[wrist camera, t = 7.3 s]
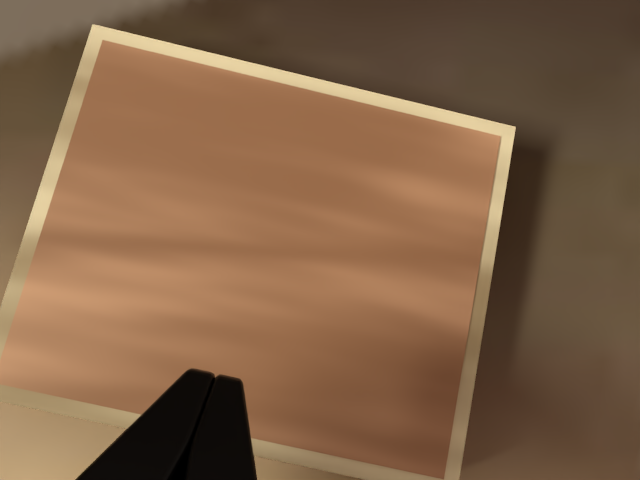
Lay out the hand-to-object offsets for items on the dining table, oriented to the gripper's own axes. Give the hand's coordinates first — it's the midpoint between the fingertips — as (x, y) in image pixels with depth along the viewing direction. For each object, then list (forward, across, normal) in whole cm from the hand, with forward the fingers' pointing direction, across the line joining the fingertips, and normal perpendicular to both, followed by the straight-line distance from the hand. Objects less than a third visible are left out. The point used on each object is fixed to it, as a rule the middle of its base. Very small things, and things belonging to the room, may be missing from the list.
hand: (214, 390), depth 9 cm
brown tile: (+3, 0, +6) cm, 7 cm away
